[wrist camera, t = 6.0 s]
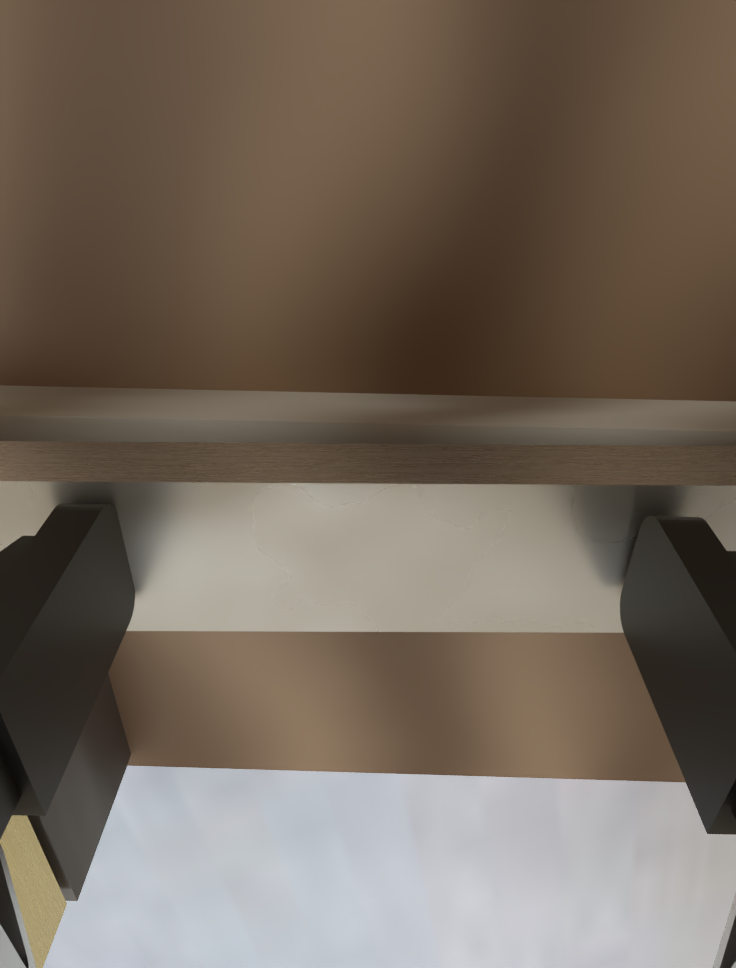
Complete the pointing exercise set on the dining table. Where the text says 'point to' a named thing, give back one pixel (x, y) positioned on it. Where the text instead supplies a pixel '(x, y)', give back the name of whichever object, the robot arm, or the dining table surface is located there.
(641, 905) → the dining table surface
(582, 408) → the hinged wooden plank
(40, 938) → the pale yellow flat block
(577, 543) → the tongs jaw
